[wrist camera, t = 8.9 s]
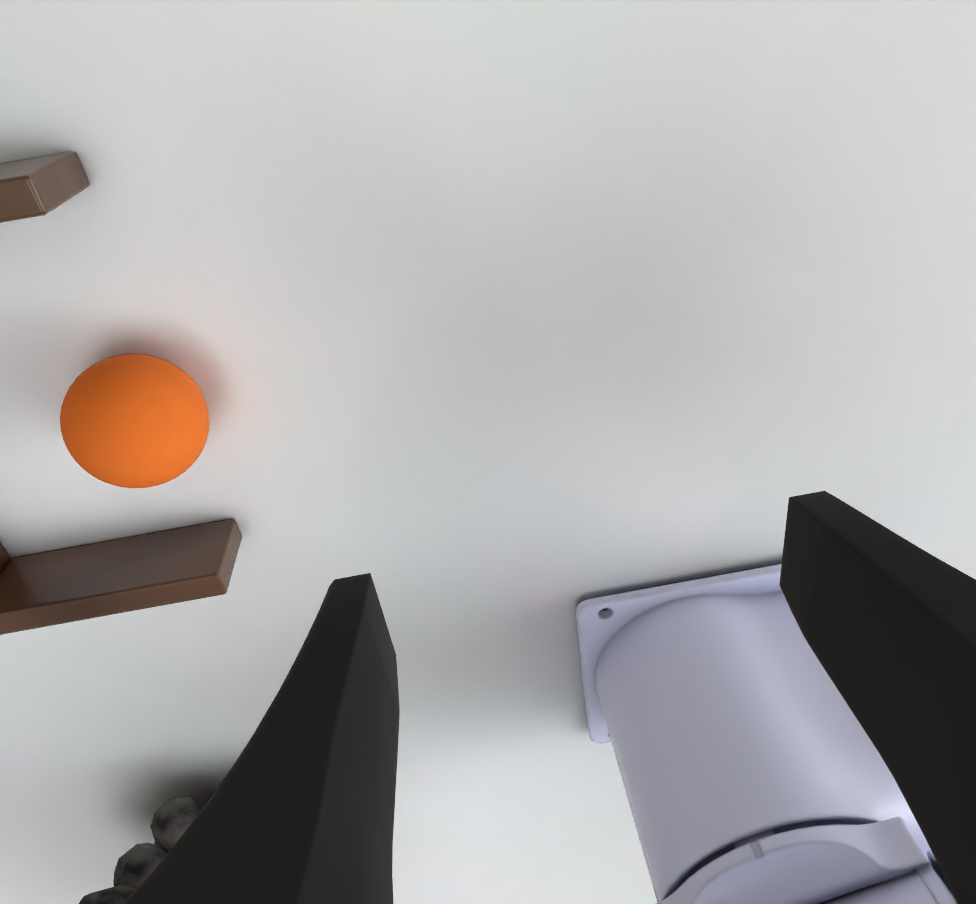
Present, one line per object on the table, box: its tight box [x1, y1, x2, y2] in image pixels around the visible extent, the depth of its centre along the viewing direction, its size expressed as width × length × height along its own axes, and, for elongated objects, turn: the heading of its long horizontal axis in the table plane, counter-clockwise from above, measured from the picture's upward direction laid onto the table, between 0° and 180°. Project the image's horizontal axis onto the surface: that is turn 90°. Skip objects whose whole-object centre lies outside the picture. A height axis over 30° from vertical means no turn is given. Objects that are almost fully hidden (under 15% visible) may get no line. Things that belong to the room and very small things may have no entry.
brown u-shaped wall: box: [0, 151, 242, 635], centre depth 18 cm, size 8×12×3 cm
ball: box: [60, 354, 209, 488], centre depth 18 cm, size 3×3×3 cm
